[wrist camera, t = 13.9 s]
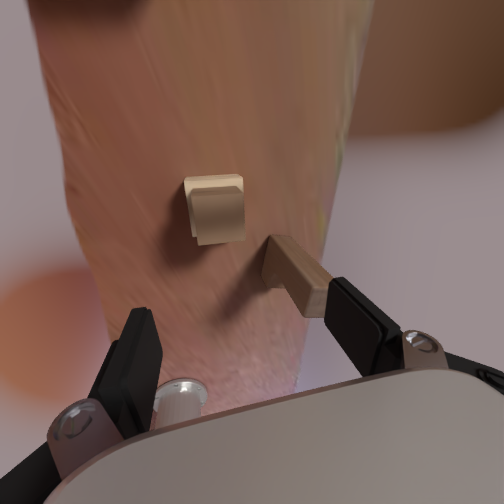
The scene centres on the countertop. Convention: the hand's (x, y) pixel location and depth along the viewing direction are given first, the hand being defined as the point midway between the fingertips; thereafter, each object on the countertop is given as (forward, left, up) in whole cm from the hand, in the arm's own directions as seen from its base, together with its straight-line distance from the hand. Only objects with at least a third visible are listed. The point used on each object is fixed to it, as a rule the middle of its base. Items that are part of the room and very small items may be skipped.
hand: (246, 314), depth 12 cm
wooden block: (-12, -11, -28) cm, 32 cm away
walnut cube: (0, 0, -23) cm, 23 cm away
